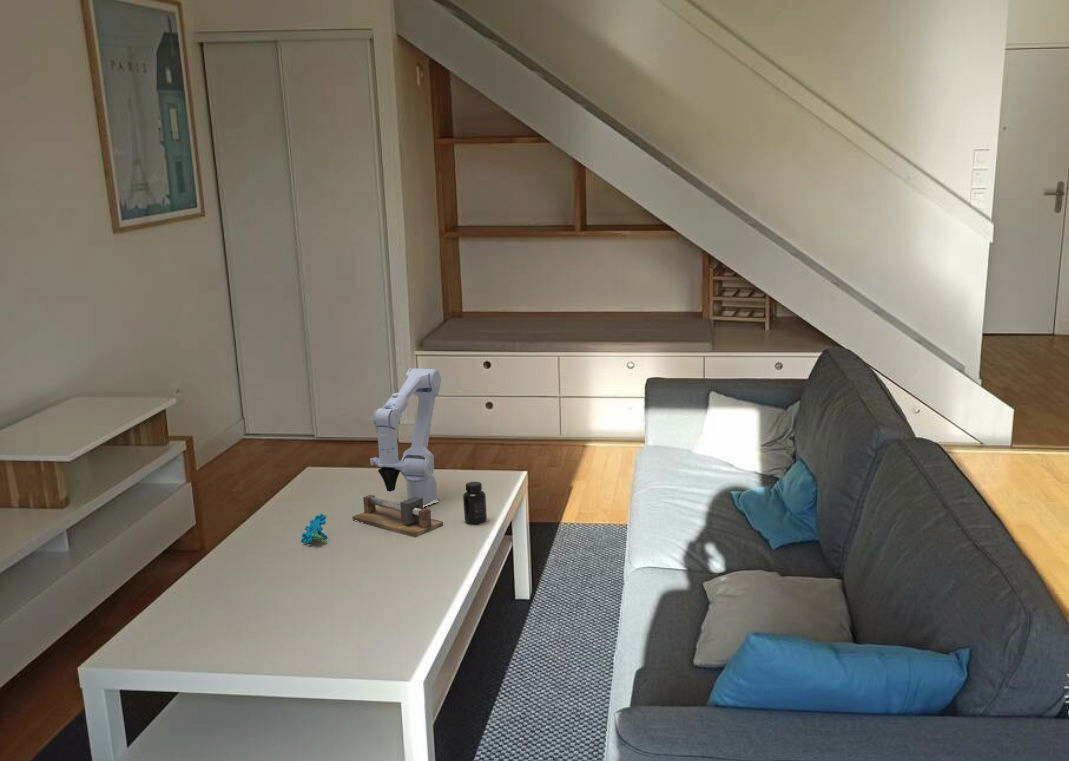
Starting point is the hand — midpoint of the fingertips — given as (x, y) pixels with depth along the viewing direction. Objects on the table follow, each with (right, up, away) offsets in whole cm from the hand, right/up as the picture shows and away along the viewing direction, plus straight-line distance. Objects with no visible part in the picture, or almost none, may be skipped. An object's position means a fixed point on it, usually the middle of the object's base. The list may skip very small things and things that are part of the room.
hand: (391, 490), depth 305 cm
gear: (-20, -14, -12) cm, 28 cm away
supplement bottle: (+26, -10, 0) cm, 28 cm away
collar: (+7, -9, -4) cm, 12 cm away
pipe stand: (+2, -10, +1) cm, 10 cm away
